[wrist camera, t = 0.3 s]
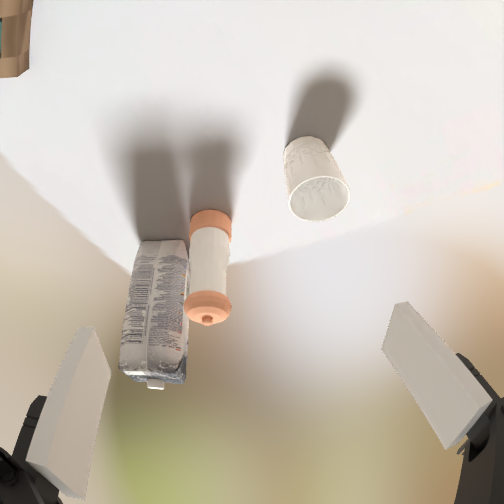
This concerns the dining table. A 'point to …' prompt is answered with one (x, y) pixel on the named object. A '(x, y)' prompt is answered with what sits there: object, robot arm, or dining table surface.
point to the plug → (0, 33)
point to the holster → (15, 37)
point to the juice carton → (157, 315)
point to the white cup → (313, 181)
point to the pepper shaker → (208, 267)
